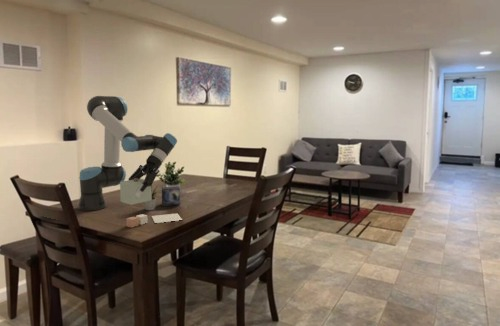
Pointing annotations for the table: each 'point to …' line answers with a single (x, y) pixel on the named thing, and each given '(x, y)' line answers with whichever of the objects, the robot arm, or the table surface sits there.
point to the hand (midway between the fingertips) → (130, 194)
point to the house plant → (151, 201)
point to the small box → (170, 196)
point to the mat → (166, 218)
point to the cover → (134, 191)
